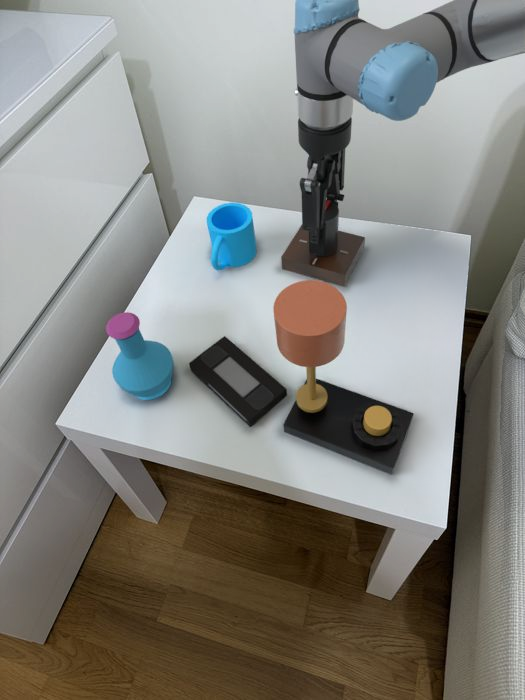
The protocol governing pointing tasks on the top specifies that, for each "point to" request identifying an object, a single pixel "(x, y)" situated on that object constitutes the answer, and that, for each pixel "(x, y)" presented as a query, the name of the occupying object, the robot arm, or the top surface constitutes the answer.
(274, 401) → the vhs tape
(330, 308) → the lamp
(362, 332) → the top surface
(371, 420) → the switch
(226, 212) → the mug
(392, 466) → the lamp base
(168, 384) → the perfume bottle
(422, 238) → the top surface
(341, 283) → the dimmer panel
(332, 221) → the dimmer
